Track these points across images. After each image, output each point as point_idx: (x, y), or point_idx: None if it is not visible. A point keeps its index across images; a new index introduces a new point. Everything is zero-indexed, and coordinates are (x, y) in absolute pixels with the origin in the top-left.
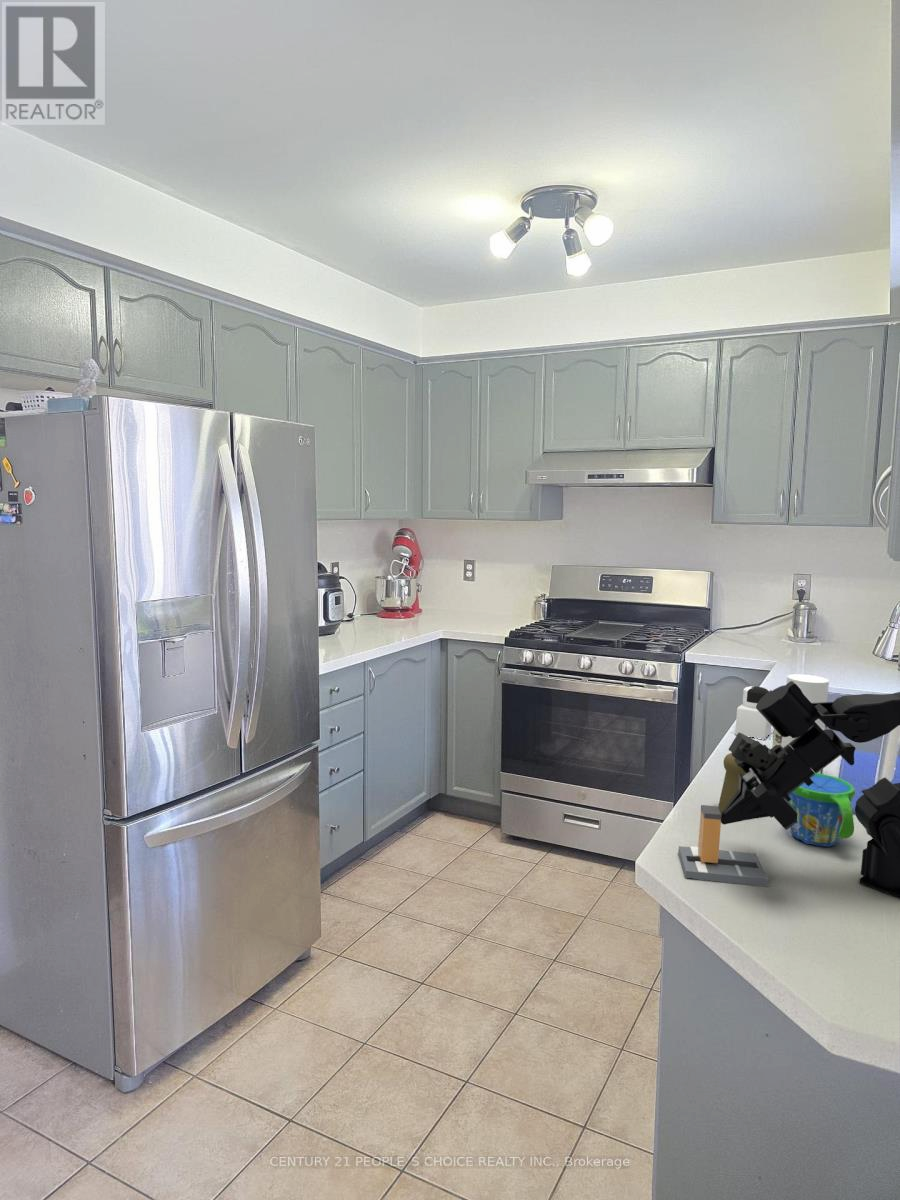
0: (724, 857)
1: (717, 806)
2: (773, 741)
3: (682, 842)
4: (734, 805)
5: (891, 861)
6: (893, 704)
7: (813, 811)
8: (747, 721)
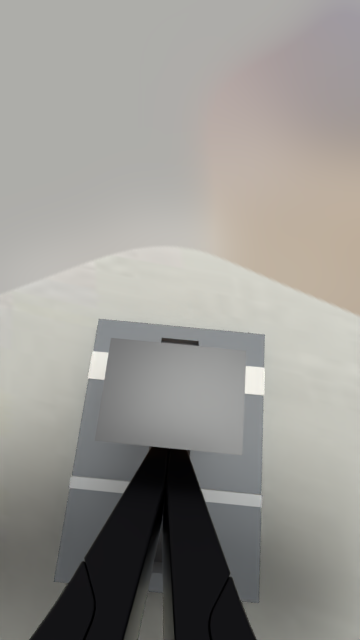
0: (205, 464)
1: (239, 453)
2: None
3: (338, 368)
4: (80, 568)
5: None
6: None
7: None
8: None
